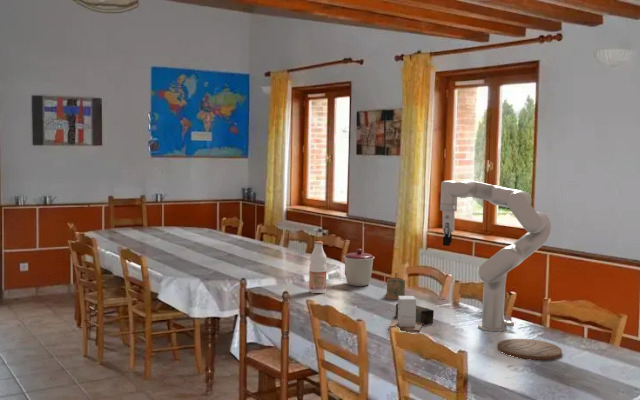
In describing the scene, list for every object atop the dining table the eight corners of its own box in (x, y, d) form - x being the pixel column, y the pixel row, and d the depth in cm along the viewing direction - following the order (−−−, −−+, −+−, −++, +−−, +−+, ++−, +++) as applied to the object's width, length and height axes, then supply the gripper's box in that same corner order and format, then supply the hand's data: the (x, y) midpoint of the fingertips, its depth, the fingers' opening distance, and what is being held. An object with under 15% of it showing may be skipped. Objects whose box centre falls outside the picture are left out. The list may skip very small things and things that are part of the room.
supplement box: (413, 322, 327) (414, 295, 326) (415, 327, 320) (416, 299, 319) (397, 322, 327) (398, 295, 326) (399, 326, 320) (400, 298, 319)
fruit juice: (305, 292, 393) (306, 241, 391) (317, 289, 400) (318, 240, 398) (317, 294, 387) (318, 243, 384) (329, 292, 393) (330, 242, 391)
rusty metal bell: (405, 292, 398) (406, 271, 397) (406, 299, 380) (407, 277, 379) (385, 291, 399) (385, 270, 398) (384, 298, 382) (385, 276, 381)
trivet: (572, 352, 290) (573, 348, 290) (541, 365, 273) (542, 360, 273) (517, 339, 308) (517, 335, 308) (485, 350, 291) (485, 346, 290)
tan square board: (422, 324, 329) (422, 322, 328) (419, 332, 315) (419, 330, 315) (392, 322, 332) (392, 319, 332) (387, 329, 318) (387, 327, 318)
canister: (336, 283, 418) (337, 248, 416) (358, 280, 430) (359, 245, 428) (358, 289, 404) (359, 252, 403) (380, 285, 416) (381, 249, 415)
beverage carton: (407, 314, 349) (408, 300, 348) (434, 323, 333) (434, 309, 332) (394, 316, 344) (395, 302, 344) (421, 325, 328) (421, 311, 328)
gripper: (455, 209, 322) (454, 247, 324) (457, 206, 339) (456, 242, 340) (438, 208, 324) (437, 246, 326) (441, 205, 341) (440, 241, 342)
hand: (447, 244), depth 333 cm, fingers open, 9 cm apart
